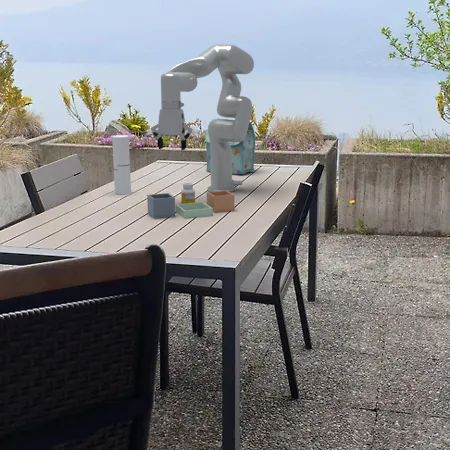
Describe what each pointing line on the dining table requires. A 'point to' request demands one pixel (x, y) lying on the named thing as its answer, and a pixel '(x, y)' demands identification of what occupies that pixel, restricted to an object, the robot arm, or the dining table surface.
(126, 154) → the cylindrical container
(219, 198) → the terracotta square bin
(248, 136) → the lunch bag
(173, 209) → the grey square bin
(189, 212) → the green tray
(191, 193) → the supplement bottle
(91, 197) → the dining table surface
